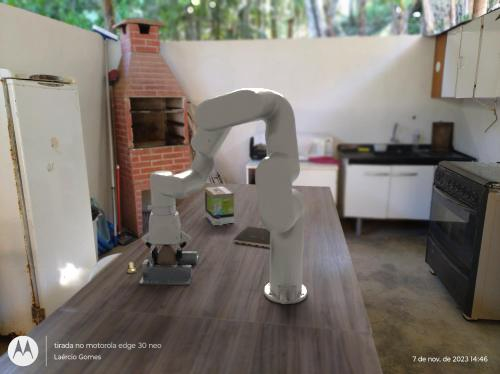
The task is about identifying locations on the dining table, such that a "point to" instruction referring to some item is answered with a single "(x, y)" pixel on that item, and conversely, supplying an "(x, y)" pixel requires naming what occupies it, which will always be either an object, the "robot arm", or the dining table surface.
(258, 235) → the hardcover book
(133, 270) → the brass key
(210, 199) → the tea box
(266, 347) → the dining table surface
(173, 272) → the bracket
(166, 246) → the vase
